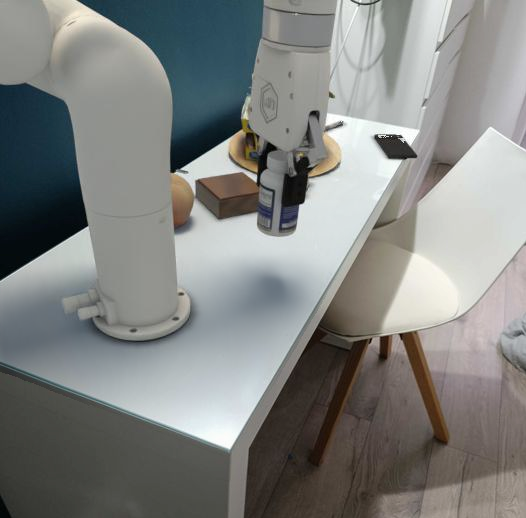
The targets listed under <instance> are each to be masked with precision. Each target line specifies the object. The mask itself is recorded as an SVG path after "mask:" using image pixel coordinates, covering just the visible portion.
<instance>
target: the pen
mask: <svg viewBox="0 0 526 518" xmlns="http://www.w3.org/2000/svg"><path fill="white" fill-rule="evenodd" d="M341 121H342V120H338V121H335V122H333V123H330V124H328V125H325V130H324V132H326V131H329V130H331V129H333V128H337V127H338V126H341V125H343V124H344V123H345V122H344V120H343V121H342V122H341Z"/></svg>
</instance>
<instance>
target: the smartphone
mask: <svg viewBox="0 0 526 518" xmlns="http://www.w3.org/2000/svg"><path fill="white" fill-rule="evenodd" d="M396 134H397V133H375V134H374V135H373V138H374V139H375V141H376V142H377V143H378V144H379V146H380V147H381V149H382V151H383V152H384V153H385V155H386V157H387V158H388V159H417V158H418V154H417V153H416V151H414V149H413V148H412V147H411V145H410V144H409V143H408V142H407V140H405V141H404V143H403V142H402V141H401V140H400V139H398V138H404V136H403V135H402V134H400V135H396ZM378 135H386V136H389V137H386V136H385V137H386V138H385V137H384V136H381V137H382V138H379V137H378ZM391 136H392V137H391ZM383 137H384V138H383Z"/></svg>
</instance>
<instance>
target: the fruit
mask: <svg viewBox="0 0 526 518" xmlns="http://www.w3.org/2000/svg"><path fill="white" fill-rule="evenodd" d="M170 177H171V194H172V208H173V223H174V228H175V227H180V226H182V225H183V224H185V223H186V222H187V220H189V218H190V215H191V212H192V211H193V208H194V204H195V194H194V191H193V188H192V186H191V184H190V183H189V182H188V181H187V180H186V179H185V178H184V177H183V176H181V175H179V174H177V173H174V172H170Z"/></svg>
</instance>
